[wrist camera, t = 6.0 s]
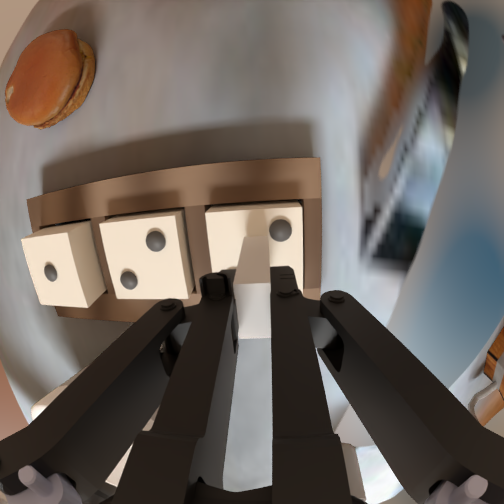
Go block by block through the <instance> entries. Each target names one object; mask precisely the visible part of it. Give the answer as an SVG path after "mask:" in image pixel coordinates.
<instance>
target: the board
mask: <svg viewBox="0 0 504 504" xmlns="http://www.w3.org/2000/svg"><path fill="white" fill-rule="evenodd" d="M286 199H299V204H300V205H301V206H302V221H303V296H304V297H305V298H308V299H313V300H320V290H321V256H322V201H321V168H320V158H314V157H312V158H278V159H259V160H245V161H232V162H221V163H211V164H202V165H193V166H185V167H177V168H170V169H163V170H156V171H150V172H144V173H138V174H132V175H127V176H121V177H116V178H111V179H106V180H101V181H96V182H92V183H87V184H83V185H79V186H74V187H70V188H66V189H62V190H58V191H54V192H51V193H47V194H43V195H40V196H37V197H33V198H30V199H27V206H28V211H29V217H30V222H31V227H32V232H33V233H35V232H37V231H39V230H41V229H44V228H46V227H52V226H56V225H55V224H56V223H62V222H68V221H74V220H81V219H87V218H91V223H92V228H93V233H94V238H95V243H96V247H97V252H98V256H99V260H100V264H101V268H102V272H103V276H104V279H105V283H106V287H107V290H106V291H105V292H104V293H103V294H102V295H101V296H100V297H99V298H98V299H97V300H96V301H95V302H94V303H93V304H92V305H91V306H90V307H89V308H83V307H67V306H55V309H56V312H57V314H58V316H62V317H71V318H82V319H95V320H109V321H126V322H136V321H137V320H138V319H139V318H140V317H141V316H143V315H144V314H145V313H146V312H147V311H148V310H149V309H150V308H151V307H152V306H154V305H155V304H156V303H158V302H159V301H162V300H164V299H117V296H116V293H115V289H114V286H113V282H112V278H111V275H110V271H109V267H108V263H107V258H106V254H105V250H104V245H103V241H102V236H101V231H100V226H99V224H100V223H102V222H104V221H106V220H108V219H110V218H112V217H114V216H116V215H118V214H123V213H131V212H140V211H148V210H157V209H166V208H176V207H184V208H185V216H186V224H187V231H188V239H189V246H190V253H191V259H192V266H193V272H194V278H195V284H196V285H195V287H194V289H193V291H192V293H191V295H190V297H189V299H179V300H181V301H182V302H183V305H184V307H187V306H192V305H196V304H199V302H200V300H201V297H202V296H201V290H200V284H199V278H200V277H201V276H203V275H205V274H208V273H212V266H211V258H210V250H209V242H208V234H207V225H206V216H205V213H206V211H207V210H208V209H209V208H210V207H211V204H221V203H235V202H249V201H266V200H286Z"/></svg>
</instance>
